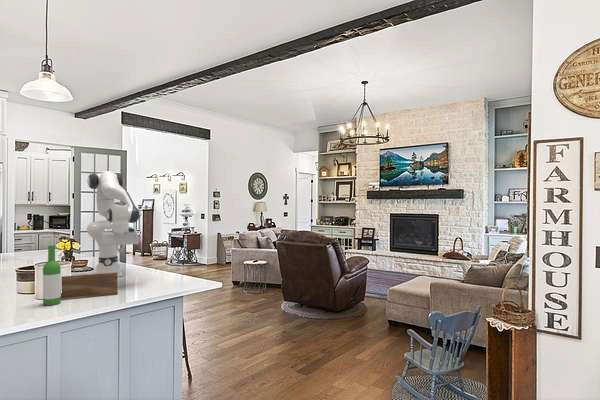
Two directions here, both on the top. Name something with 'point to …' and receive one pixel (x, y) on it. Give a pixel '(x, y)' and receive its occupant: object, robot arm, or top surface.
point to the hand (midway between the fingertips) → (120, 252)
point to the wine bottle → (51, 279)
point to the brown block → (89, 285)
